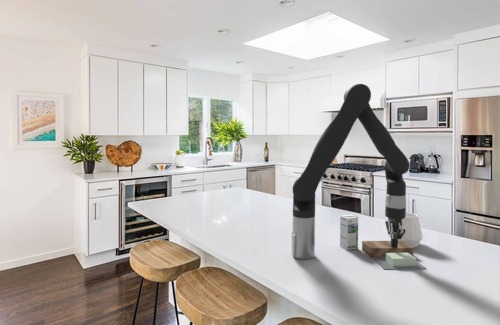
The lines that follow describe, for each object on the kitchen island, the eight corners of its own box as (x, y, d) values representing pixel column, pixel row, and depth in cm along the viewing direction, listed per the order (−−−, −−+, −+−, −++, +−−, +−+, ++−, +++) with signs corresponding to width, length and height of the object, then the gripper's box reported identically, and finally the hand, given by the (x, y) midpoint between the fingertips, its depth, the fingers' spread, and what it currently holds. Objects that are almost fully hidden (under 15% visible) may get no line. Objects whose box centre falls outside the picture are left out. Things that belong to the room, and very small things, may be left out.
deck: (369, 257, 131) (370, 248, 130) (362, 249, 139) (362, 240, 139) (413, 257, 131) (413, 247, 130) (402, 249, 140) (402, 240, 139)
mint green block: (385, 252, 127) (385, 260, 127) (392, 258, 121) (392, 266, 121) (407, 252, 127) (407, 259, 127) (415, 258, 121) (415, 266, 121)
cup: (389, 246, 144) (390, 216, 143) (391, 237, 156) (392, 209, 154) (422, 251, 138) (423, 219, 136) (422, 241, 149) (423, 212, 148)
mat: (384, 269, 119) (384, 268, 119) (372, 258, 130) (372, 257, 130) (426, 269, 119) (426, 268, 119) (411, 257, 130) (411, 257, 130)
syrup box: (346, 250, 139) (347, 218, 138) (339, 245, 145) (340, 214, 143) (358, 249, 140) (358, 217, 139) (350, 244, 146) (351, 214, 145)
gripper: (379, 202, 133) (378, 242, 135) (393, 209, 120) (392, 253, 122) (397, 202, 133) (395, 241, 135) (413, 209, 120) (411, 253, 122)
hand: (394, 247), depth 128 cm, fingers closed
